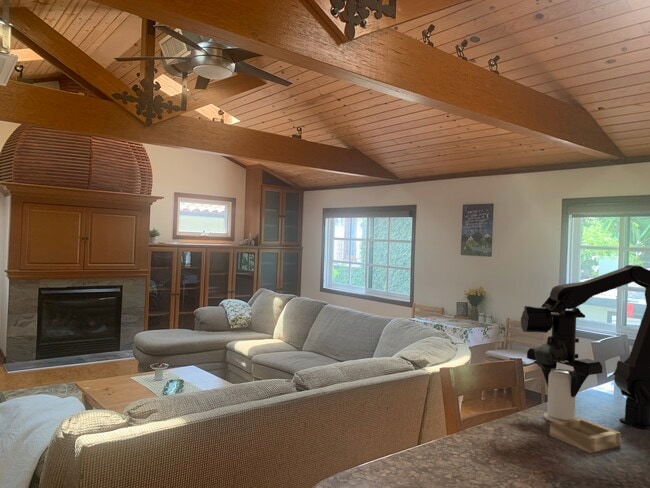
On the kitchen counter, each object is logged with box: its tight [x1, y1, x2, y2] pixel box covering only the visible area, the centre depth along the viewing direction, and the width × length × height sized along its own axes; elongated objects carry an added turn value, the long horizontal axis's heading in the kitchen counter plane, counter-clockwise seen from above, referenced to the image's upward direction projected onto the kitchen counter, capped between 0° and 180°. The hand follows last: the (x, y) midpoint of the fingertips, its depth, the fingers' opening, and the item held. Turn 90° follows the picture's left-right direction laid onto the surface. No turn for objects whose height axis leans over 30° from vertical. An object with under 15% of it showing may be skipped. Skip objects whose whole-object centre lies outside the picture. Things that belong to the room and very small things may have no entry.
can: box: [546, 368, 576, 420], centre depth 130 cm, size 6×6×12 cm
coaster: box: [543, 411, 577, 423], centre depth 130 cm, size 8×8×1 cm
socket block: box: [549, 417, 622, 454], centre depth 116 cm, size 10×10×3 cm
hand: (561, 392), depth 130 cm, fingers open, 7 cm apart
